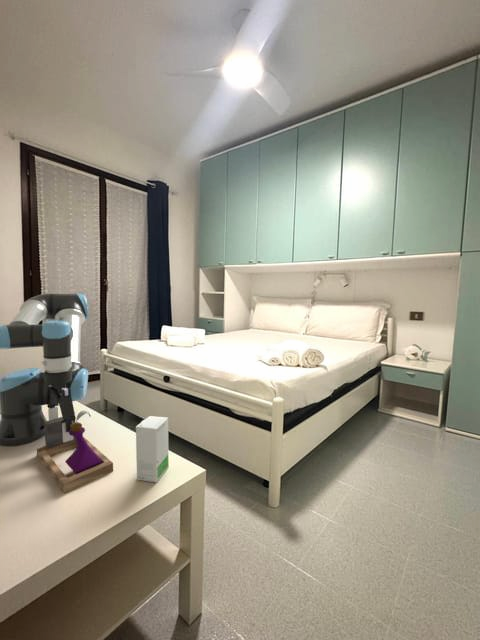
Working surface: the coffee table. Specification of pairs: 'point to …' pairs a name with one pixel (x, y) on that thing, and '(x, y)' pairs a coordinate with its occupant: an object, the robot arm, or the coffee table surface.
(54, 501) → the coffee table surface
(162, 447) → the skincare box
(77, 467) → the perfume bottle
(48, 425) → the strip frame
